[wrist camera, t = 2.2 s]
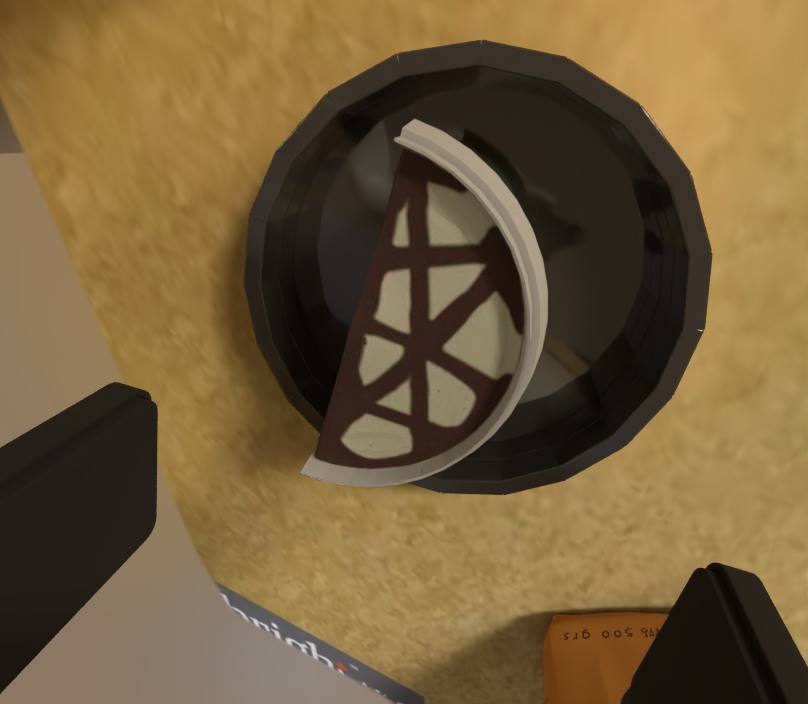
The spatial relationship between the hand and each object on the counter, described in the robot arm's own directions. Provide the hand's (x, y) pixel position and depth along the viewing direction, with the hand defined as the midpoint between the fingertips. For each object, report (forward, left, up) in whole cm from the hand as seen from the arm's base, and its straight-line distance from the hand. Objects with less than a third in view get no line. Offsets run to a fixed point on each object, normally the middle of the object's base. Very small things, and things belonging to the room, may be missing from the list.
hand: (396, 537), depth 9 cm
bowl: (0, 0, -18) cm, 18 cm away
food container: (0, 0, -17) cm, 17 cm away
